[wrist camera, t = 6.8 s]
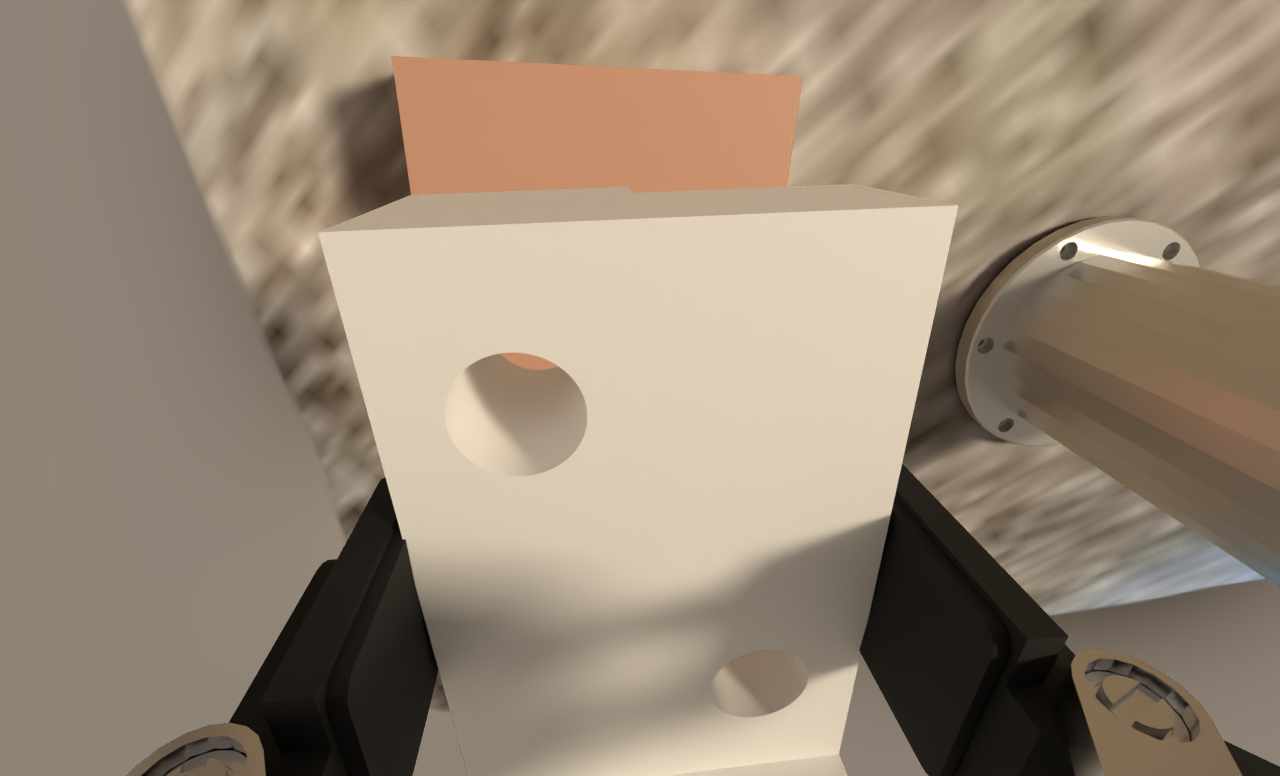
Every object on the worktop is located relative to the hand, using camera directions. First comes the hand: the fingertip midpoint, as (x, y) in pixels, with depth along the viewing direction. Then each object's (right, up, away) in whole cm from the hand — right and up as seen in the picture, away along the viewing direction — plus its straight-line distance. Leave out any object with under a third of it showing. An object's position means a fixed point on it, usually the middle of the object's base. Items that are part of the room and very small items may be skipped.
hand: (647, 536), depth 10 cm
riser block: (-2, +8, +16) cm, 18 cm away
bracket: (0, 0, +2) cm, 2 cm away
